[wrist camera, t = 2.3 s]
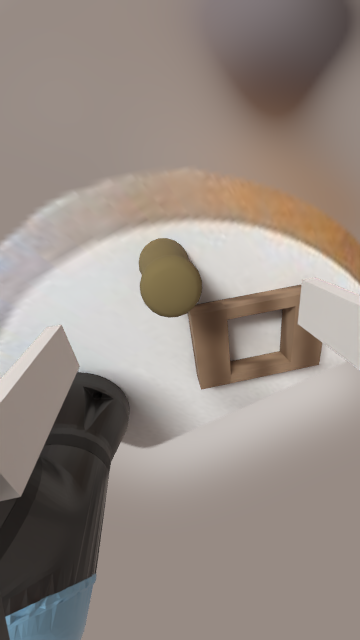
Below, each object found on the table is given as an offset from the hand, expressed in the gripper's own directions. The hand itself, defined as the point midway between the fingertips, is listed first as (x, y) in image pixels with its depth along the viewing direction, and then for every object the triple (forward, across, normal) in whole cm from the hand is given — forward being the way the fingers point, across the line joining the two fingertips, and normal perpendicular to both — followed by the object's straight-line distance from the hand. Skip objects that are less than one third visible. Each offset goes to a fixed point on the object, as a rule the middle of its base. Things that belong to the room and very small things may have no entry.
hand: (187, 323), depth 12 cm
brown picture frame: (+17, +11, -12) cm, 23 cm away
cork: (+17, 0, 0) cm, 17 cm away
